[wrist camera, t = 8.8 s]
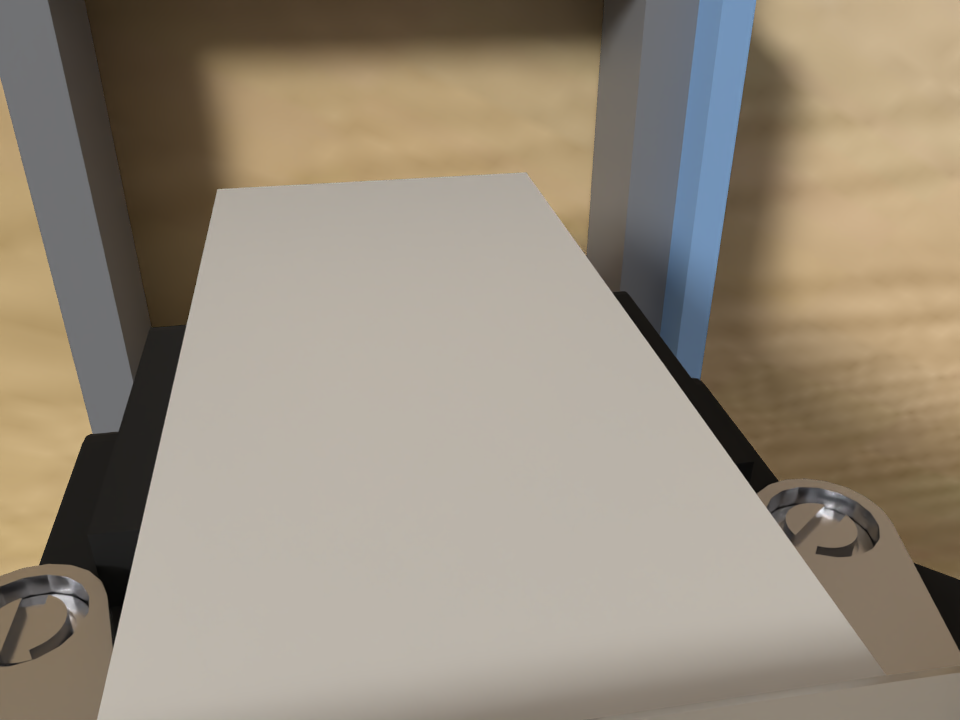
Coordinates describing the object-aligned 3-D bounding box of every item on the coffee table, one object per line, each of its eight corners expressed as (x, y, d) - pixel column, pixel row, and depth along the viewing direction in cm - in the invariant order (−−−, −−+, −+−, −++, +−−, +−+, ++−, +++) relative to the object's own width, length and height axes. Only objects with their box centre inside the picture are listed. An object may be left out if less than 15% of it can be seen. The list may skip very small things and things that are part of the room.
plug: (526, 172, 13) (1094, 965, 4) (519, 422, 16) (870, 1320, 6) (217, 188, 13) (-14, 1207, 3) (255, 448, 15) (186, 1507, 5)
